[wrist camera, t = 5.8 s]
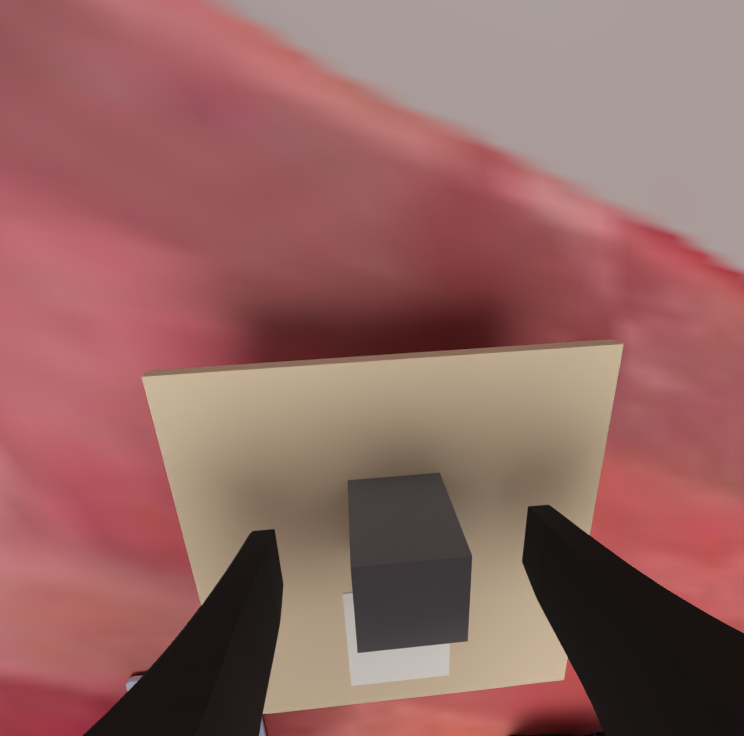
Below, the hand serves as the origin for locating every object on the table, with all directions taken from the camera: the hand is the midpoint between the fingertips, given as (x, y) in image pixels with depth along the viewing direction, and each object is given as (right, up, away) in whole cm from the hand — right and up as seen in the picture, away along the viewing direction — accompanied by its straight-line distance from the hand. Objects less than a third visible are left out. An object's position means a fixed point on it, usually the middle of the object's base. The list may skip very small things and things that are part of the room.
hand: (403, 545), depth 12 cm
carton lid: (0, -2, +3) cm, 4 cm away
